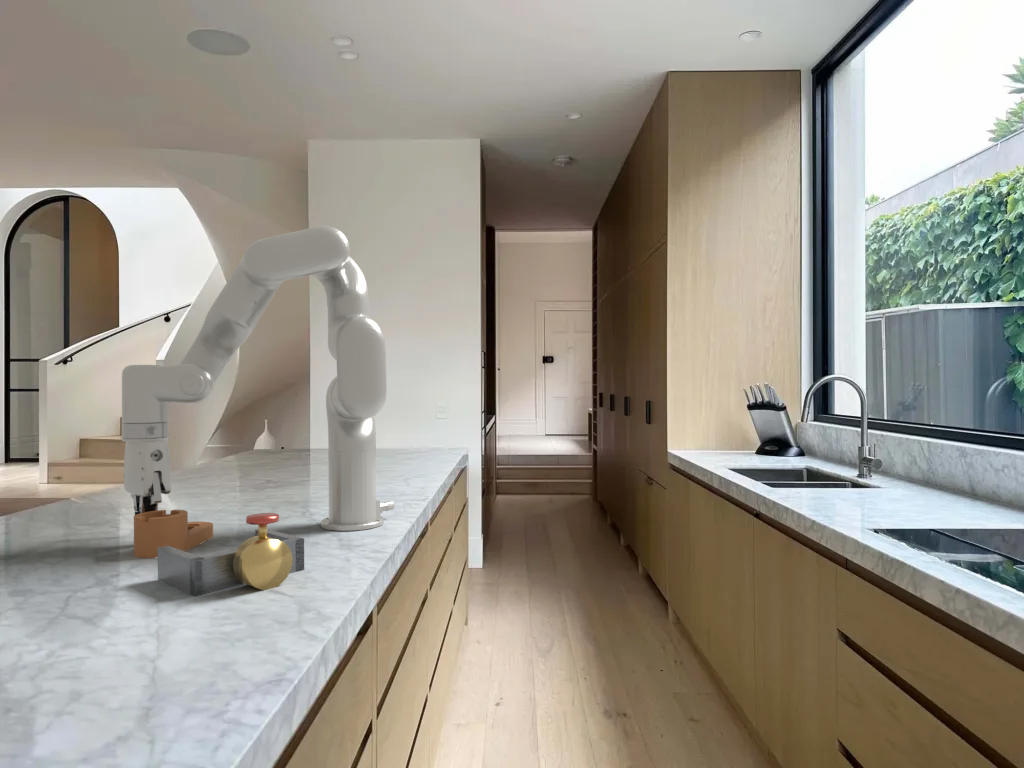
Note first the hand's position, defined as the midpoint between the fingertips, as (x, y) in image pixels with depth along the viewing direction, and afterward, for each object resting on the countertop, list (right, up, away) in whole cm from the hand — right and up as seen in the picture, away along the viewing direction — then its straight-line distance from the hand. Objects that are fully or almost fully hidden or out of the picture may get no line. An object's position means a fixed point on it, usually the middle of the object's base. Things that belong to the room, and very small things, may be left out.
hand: (145, 532), depth 123 cm
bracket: (+6, -3, -1) cm, 6 cm away
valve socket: (+26, -2, -22) cm, 34 cm away
